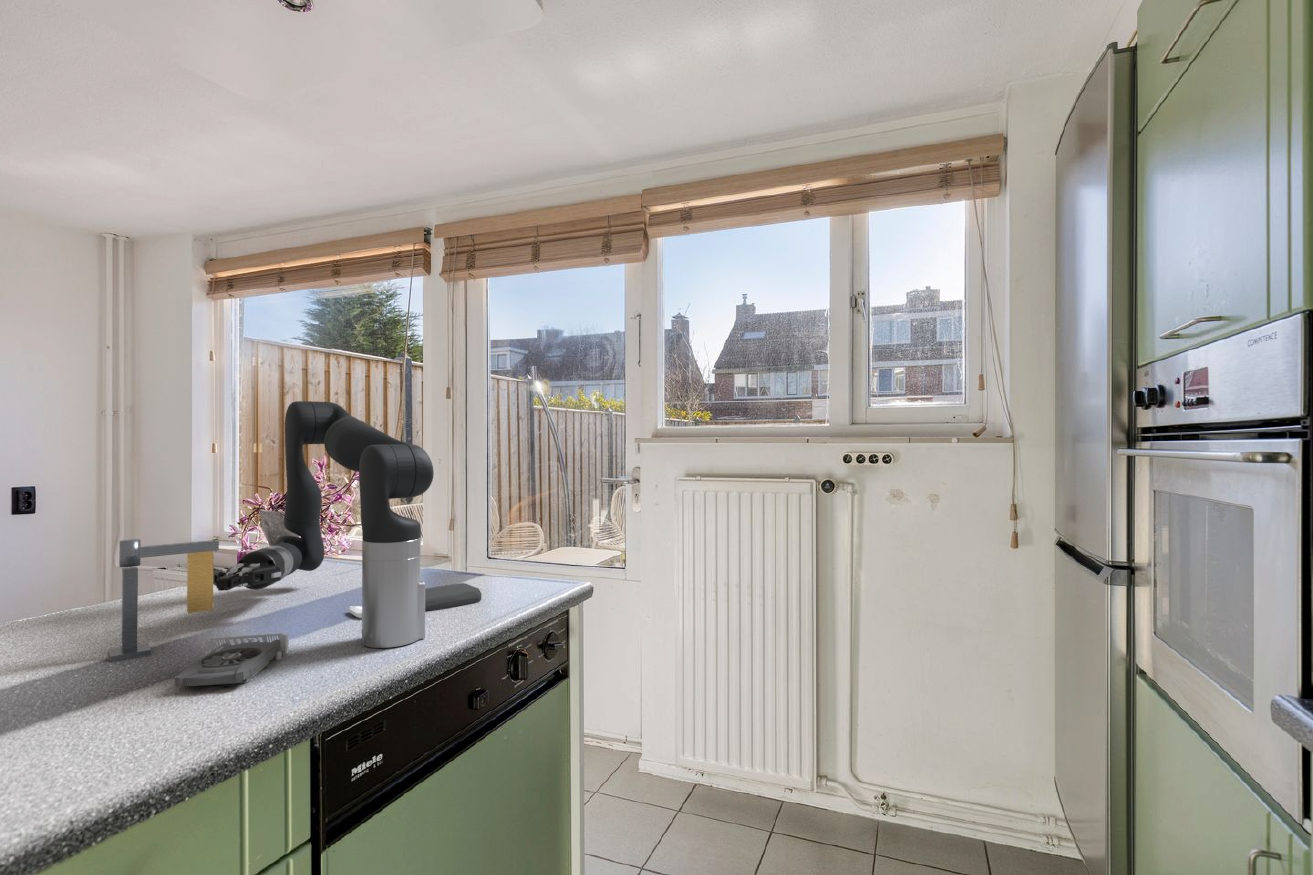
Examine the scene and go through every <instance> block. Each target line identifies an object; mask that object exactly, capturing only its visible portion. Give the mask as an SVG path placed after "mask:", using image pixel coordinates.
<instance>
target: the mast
mask: <svg viewBox="0 0 1313 875" xmlns="http://www.w3.org/2000/svg"><path fill="white" fill-rule="evenodd" d="M121 568H122V569H121V646H118V647H113V648H112V647H111V648H107V650H106V651H107V657H108V660H109V662H110V663H112V662H117V661H123V660H128V659H129V660H130V659H134V658H140V657H145V656H151V655H152V647H151V646H150V644H149V643H148V642H142V643H138V619H139V618H138V617H139V616H138V610H139V609H138V606H139V604H138V597H139V594H138V593H139V592H138V590H139V587H138V586H139V569H138V566H134V567H121Z"/></svg>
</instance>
